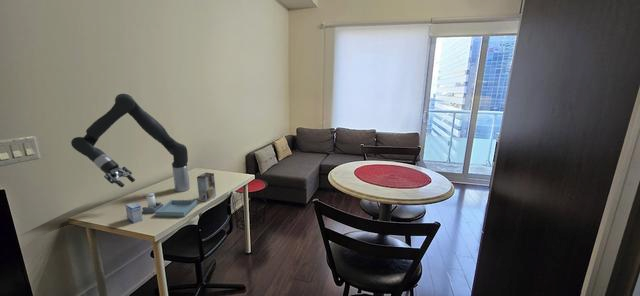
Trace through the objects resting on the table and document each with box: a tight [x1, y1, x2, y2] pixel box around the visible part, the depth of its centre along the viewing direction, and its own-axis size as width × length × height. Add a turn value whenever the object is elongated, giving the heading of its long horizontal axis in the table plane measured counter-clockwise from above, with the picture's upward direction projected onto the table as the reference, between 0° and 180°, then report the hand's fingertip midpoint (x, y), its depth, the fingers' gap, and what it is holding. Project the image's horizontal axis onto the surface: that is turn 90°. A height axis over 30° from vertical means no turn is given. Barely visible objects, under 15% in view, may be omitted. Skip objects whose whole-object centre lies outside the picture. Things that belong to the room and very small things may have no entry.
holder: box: [141, 201, 164, 214], centre depth 158 cm, size 8×7×3 cm
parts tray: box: [154, 199, 198, 218], centre depth 158 cm, size 16×16×3 cm
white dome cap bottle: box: [145, 192, 156, 209], centre depth 157 cm, size 4×4×10 cm
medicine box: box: [125, 202, 143, 224], centre depth 146 cm, size 8×4×9 cm, turn 56°
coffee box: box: [196, 172, 217, 202], centre depth 173 cm, size 9×6×16 cm
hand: (128, 183), depth 155 cm, fingers open, 8 cm apart
